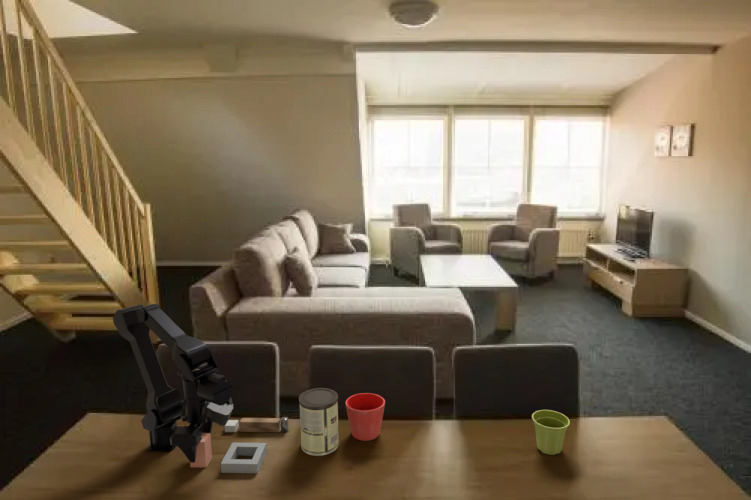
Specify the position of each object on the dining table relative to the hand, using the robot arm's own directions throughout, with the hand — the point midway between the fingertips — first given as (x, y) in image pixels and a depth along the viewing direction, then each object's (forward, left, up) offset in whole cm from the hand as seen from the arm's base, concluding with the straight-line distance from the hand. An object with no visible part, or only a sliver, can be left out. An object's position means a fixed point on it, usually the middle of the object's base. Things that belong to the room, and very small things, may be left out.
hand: (200, 451), depth 124 cm
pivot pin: (+18, +15, -3) cm, 24 cm away
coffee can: (+29, +8, -3) cm, 30 cm away
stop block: (+3, +15, -3) cm, 16 cm away
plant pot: (+90, +8, -3) cm, 91 cm away
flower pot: (+41, +14, -3) cm, 44 cm away
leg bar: (+11, +15, -3) cm, 19 cm away
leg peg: (0, 0, -3) cm, 3 cm away
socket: (+11, 0, -3) cm, 12 cm away
